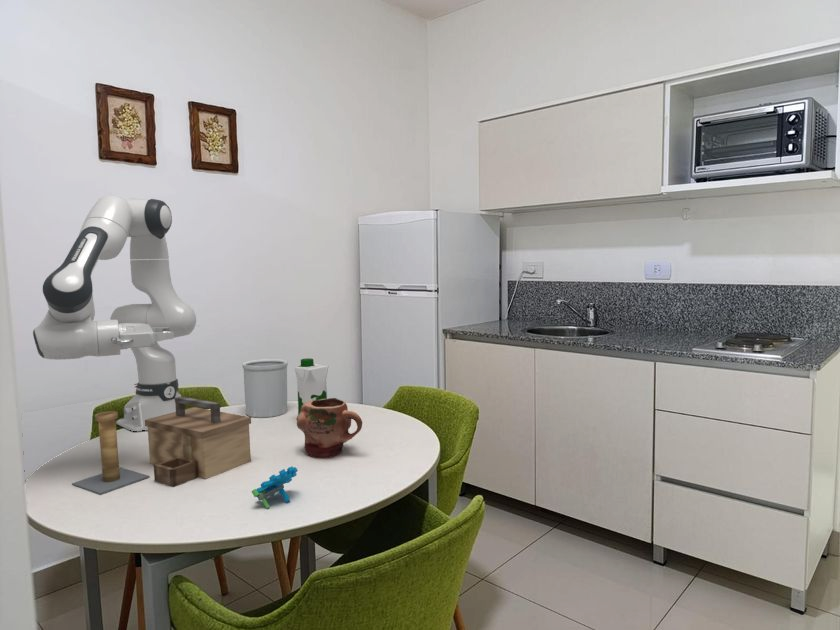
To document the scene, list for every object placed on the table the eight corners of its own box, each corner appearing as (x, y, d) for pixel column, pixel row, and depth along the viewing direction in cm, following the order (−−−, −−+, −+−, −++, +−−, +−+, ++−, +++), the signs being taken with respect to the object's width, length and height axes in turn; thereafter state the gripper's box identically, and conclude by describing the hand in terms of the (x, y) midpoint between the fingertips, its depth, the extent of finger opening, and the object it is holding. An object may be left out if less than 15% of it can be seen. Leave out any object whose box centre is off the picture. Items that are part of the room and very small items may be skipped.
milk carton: (315, 416, 194) (313, 356, 192) (333, 420, 188) (331, 359, 186) (293, 422, 187) (291, 360, 185) (311, 427, 181) (309, 363, 179)
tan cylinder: (95, 480, 139) (90, 415, 137) (115, 474, 143) (110, 410, 141) (107, 484, 136) (102, 417, 135) (126, 477, 140) (122, 412, 139)
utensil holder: (276, 404, 210) (274, 356, 209) (297, 412, 199) (295, 361, 198) (237, 412, 201) (235, 362, 199) (257, 421, 190) (254, 367, 188)
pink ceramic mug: (373, 448, 159) (372, 398, 158) (354, 464, 148) (353, 410, 146) (308, 443, 166) (306, 394, 164) (285, 457, 154) (283, 405, 153)
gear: (287, 479, 134) (300, 458, 127) (300, 501, 132) (314, 480, 125) (243, 500, 126) (255, 478, 120) (257, 524, 124) (269, 503, 118)
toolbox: (123, 471, 146) (118, 407, 144) (196, 447, 164) (193, 390, 162) (180, 489, 133) (176, 419, 132) (253, 461, 152) (250, 399, 150)
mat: (72, 484, 138) (72, 483, 138) (121, 468, 148) (121, 467, 148) (100, 494, 131) (100, 493, 131) (149, 477, 141) (149, 475, 141)
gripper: (110, 329, 136) (174, 324, 142) (110, 321, 154) (167, 317, 160) (112, 356, 136) (176, 350, 143) (112, 344, 154) (169, 340, 161)
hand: (171, 332), depth 152 cm, fingers open, 8 cm apart
